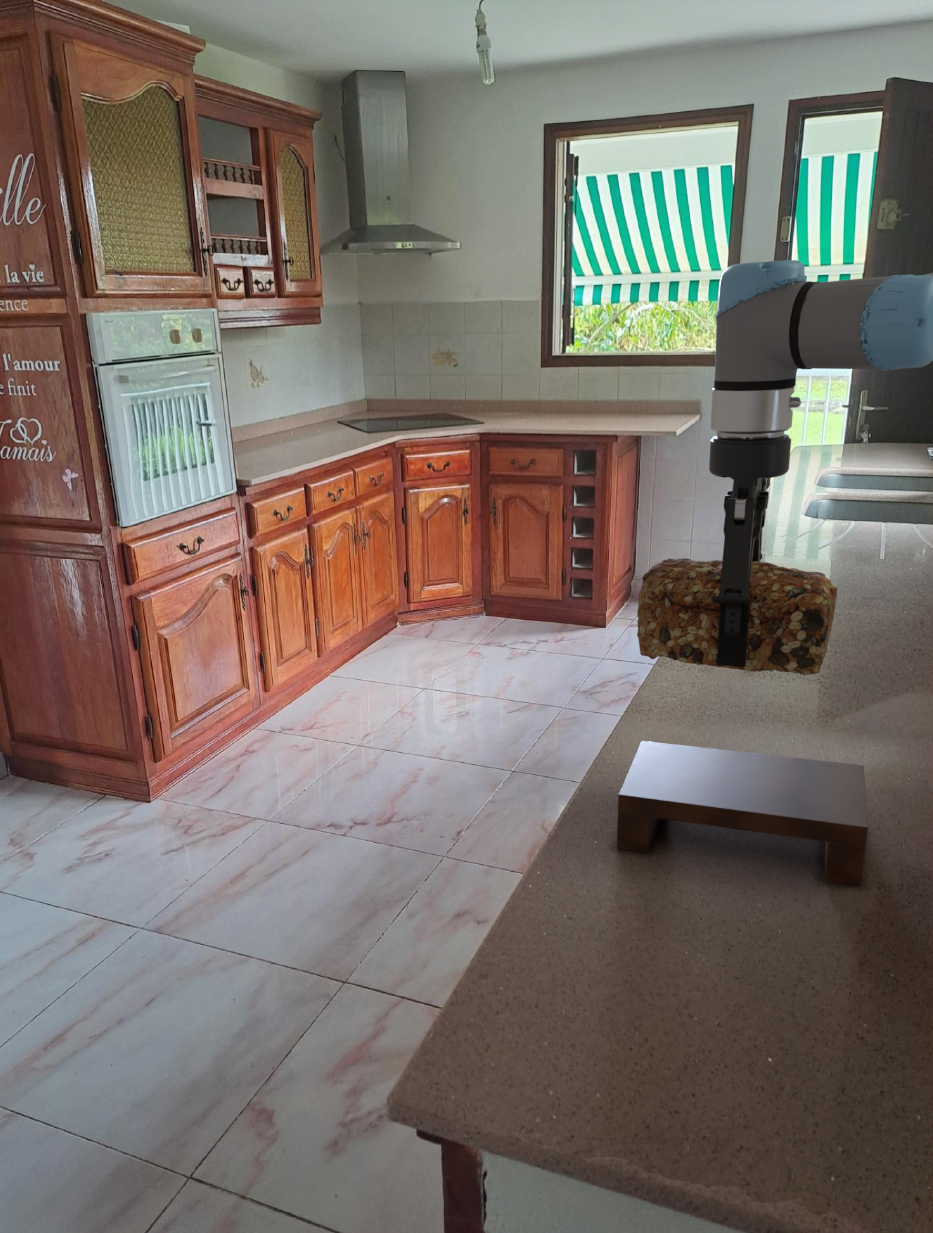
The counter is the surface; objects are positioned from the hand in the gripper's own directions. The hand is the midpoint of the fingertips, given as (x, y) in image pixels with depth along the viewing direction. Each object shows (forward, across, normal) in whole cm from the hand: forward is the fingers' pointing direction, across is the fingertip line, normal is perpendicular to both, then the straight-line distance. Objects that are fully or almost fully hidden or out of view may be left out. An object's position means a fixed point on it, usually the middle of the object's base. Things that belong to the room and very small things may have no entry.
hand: (737, 647), depth 101 cm
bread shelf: (+16, -11, -2) cm, 20 cm away
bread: (+1, 0, 0) cm, 1 cm away
